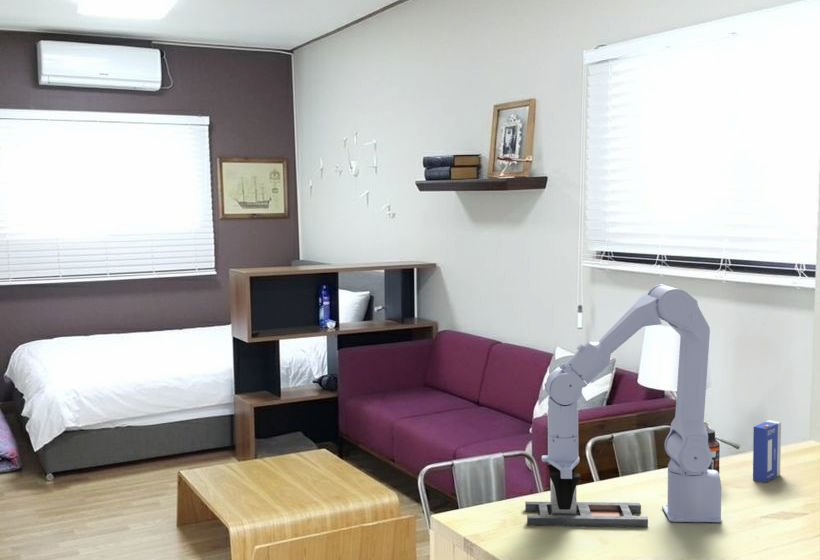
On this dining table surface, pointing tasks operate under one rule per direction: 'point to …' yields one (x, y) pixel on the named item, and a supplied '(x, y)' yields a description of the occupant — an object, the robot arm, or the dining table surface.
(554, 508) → the steel peg
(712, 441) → the supplement bottle
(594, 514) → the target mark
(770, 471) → the walkman
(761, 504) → the dining table surface
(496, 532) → the dining table surface
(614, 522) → the rail
